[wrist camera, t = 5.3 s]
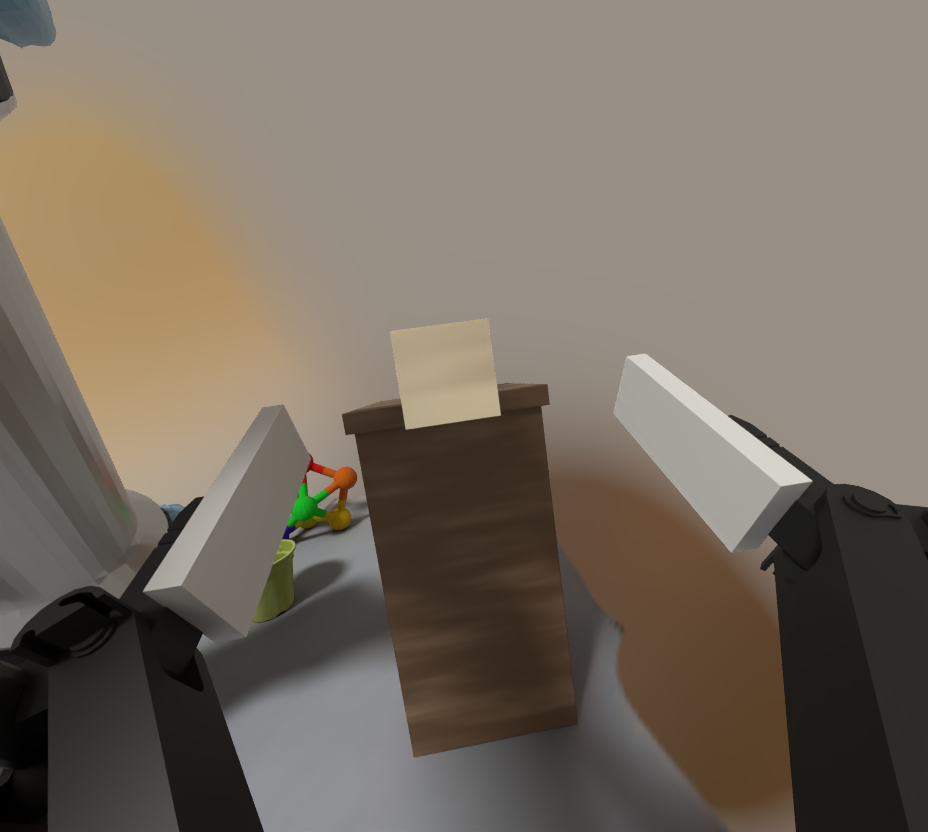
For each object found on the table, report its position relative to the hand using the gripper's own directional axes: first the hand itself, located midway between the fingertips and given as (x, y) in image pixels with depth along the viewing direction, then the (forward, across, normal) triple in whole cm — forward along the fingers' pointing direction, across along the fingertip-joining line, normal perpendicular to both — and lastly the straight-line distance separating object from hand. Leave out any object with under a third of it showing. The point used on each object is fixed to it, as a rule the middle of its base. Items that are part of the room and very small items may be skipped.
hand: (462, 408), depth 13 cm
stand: (+1, 0, -34) cm, 34 cm away
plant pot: (+15, -31, -43) cm, 55 cm away
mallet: (+10, -1, -6) cm, 11 cm away
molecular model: (+36, -34, -55) cm, 74 cm away
